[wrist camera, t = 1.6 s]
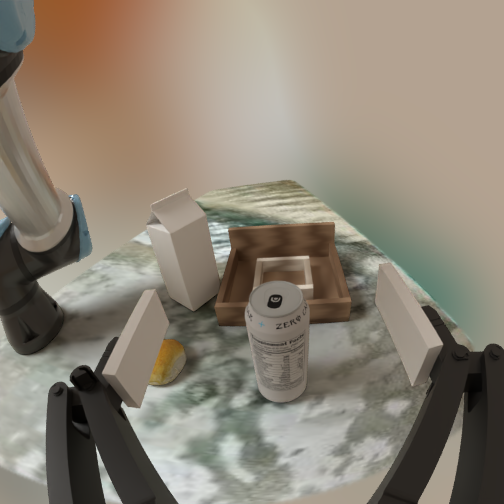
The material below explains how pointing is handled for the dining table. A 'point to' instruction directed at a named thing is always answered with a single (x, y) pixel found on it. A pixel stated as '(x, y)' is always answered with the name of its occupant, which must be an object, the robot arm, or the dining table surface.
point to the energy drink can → (279, 339)
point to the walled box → (284, 270)
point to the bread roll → (168, 362)
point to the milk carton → (184, 249)
